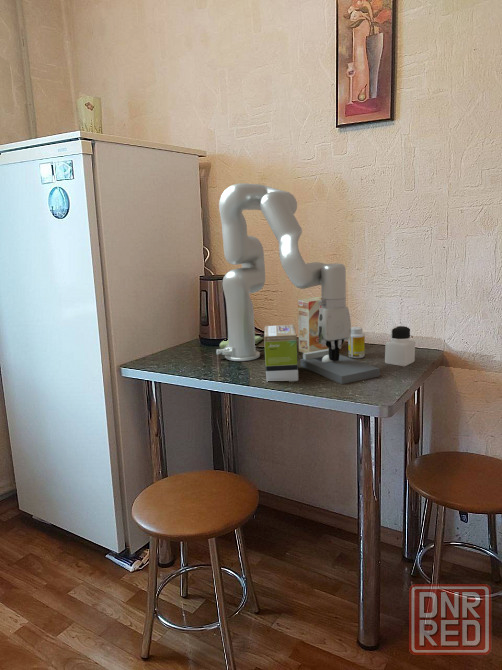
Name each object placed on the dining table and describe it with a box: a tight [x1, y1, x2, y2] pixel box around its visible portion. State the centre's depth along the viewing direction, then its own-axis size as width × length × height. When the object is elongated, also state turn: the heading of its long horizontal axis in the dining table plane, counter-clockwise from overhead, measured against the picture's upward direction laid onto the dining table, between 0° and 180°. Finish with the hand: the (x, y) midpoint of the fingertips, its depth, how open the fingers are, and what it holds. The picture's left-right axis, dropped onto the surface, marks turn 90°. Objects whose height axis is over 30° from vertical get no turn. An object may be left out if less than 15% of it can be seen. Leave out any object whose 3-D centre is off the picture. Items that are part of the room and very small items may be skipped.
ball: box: [322, 355, 332, 363], centre depth 172 cm, size 4×4×4 cm
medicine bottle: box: [384, 325, 416, 367], centre depth 172 cm, size 7×7×12 cm
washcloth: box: [219, 335, 264, 349], centre depth 208 cm, size 13×18×3 cm
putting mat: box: [300, 349, 381, 385], centre depth 165 cm, size 14×23×16 cm, turn 26°
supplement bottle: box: [347, 326, 366, 359], centre depth 182 cm, size 6×6×10 cm
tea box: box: [263, 324, 299, 383], centre depth 164 cm, size 15×10×15 cm
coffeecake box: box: [297, 296, 342, 354], centre depth 192 cm, size 15×7×20 cm, turn 120°
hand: (334, 359), depth 168 cm, fingers closed
